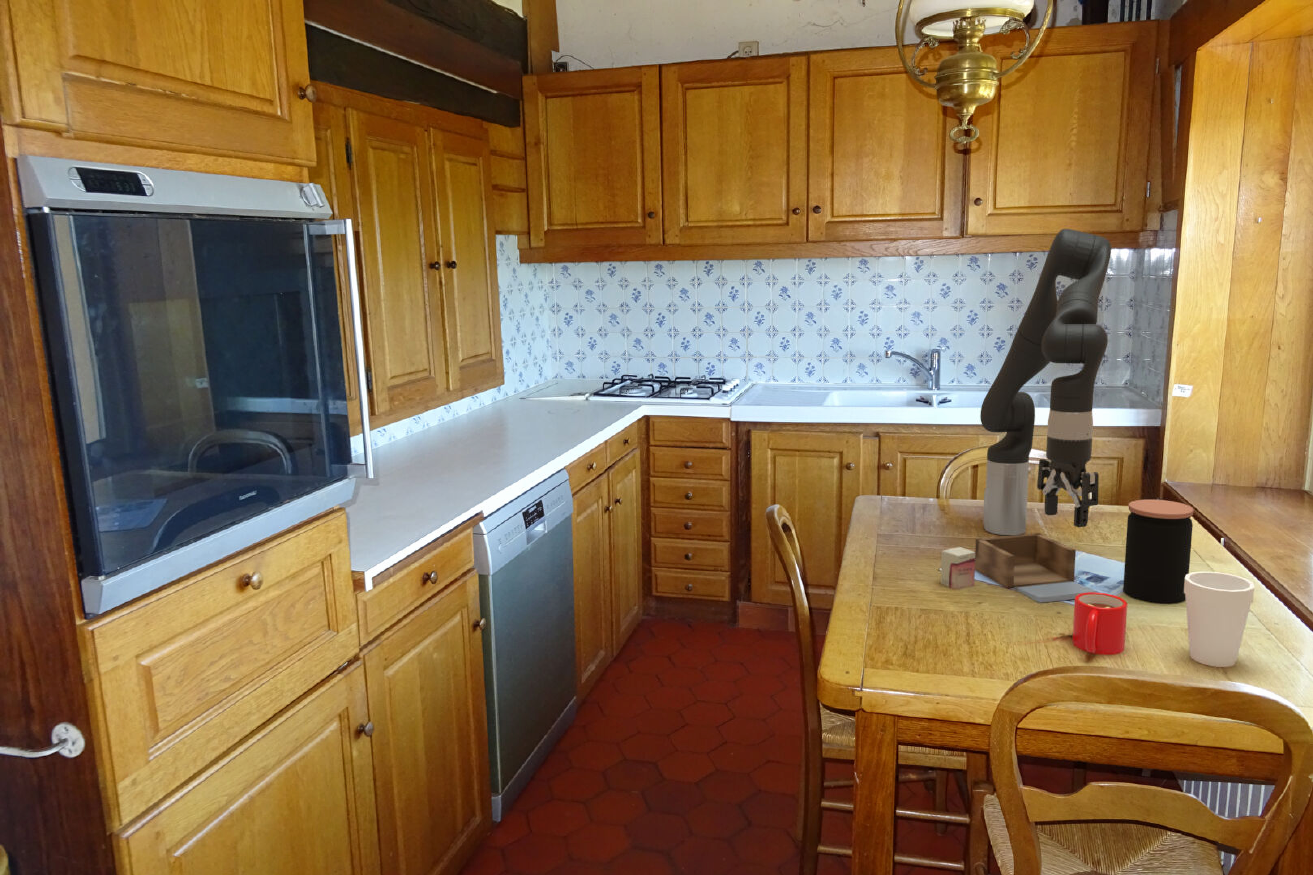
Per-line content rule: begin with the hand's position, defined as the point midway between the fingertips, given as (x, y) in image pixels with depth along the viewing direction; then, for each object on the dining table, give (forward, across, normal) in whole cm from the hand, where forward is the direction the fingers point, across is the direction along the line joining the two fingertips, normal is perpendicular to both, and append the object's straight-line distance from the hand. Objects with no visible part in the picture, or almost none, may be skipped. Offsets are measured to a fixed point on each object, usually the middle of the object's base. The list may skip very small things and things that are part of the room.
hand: (1065, 520), depth 169 cm
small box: (+16, +12, +14) cm, 25 cm away
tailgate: (+15, +6, 0) cm, 16 cm away
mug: (+16, -20, +8) cm, 27 cm away
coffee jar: (+16, -3, -17) cm, 24 cm away
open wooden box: (+16, +13, -1) cm, 21 cm away
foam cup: (+16, -28, -7) cm, 33 cm away
